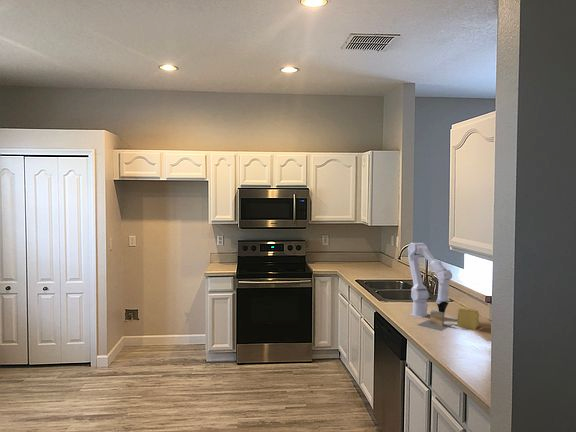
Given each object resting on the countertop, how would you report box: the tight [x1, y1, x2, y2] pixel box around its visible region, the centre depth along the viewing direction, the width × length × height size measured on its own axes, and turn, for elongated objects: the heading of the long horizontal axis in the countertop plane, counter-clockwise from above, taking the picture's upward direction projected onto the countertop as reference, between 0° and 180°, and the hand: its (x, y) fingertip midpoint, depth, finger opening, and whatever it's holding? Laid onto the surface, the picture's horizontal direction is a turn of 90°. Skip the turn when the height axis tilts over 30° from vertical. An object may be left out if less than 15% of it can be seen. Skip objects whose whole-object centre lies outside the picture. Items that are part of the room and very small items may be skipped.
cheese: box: [456, 305, 480, 330], centre depth 269 cm, size 10×11×10 cm
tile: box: [429, 310, 446, 326], centre depth 269 cm, size 2×7×7 cm, turn 50°
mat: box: [417, 319, 453, 332], centre depth 267 cm, size 16×14×1 cm
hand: (441, 314), depth 273 cm, fingers closed
